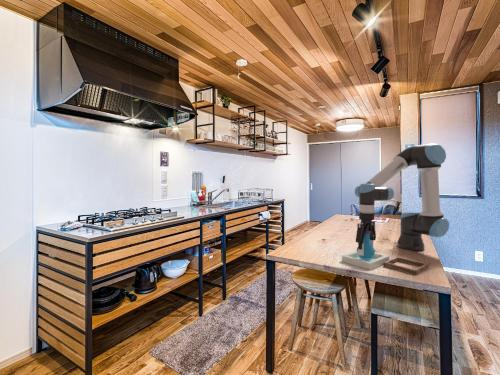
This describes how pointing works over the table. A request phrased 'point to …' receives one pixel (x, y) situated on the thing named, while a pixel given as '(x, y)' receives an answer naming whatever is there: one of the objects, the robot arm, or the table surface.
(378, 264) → the tray
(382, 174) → the robot arm
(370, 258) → the teal vase
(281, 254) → the table surface
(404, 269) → the frame
